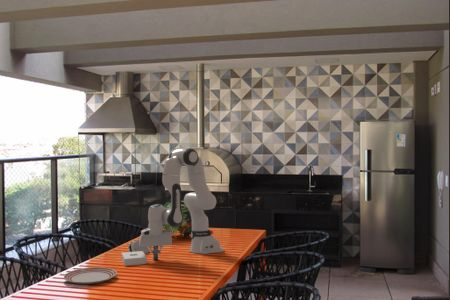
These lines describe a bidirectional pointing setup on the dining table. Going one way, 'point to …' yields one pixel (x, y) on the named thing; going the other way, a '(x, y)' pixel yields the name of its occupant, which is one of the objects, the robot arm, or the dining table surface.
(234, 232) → the dining table surface
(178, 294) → the dining table surface
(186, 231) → the plant
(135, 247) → the grey curved slotted block
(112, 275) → the dinner plate
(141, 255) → the grey block with hole
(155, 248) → the pin
